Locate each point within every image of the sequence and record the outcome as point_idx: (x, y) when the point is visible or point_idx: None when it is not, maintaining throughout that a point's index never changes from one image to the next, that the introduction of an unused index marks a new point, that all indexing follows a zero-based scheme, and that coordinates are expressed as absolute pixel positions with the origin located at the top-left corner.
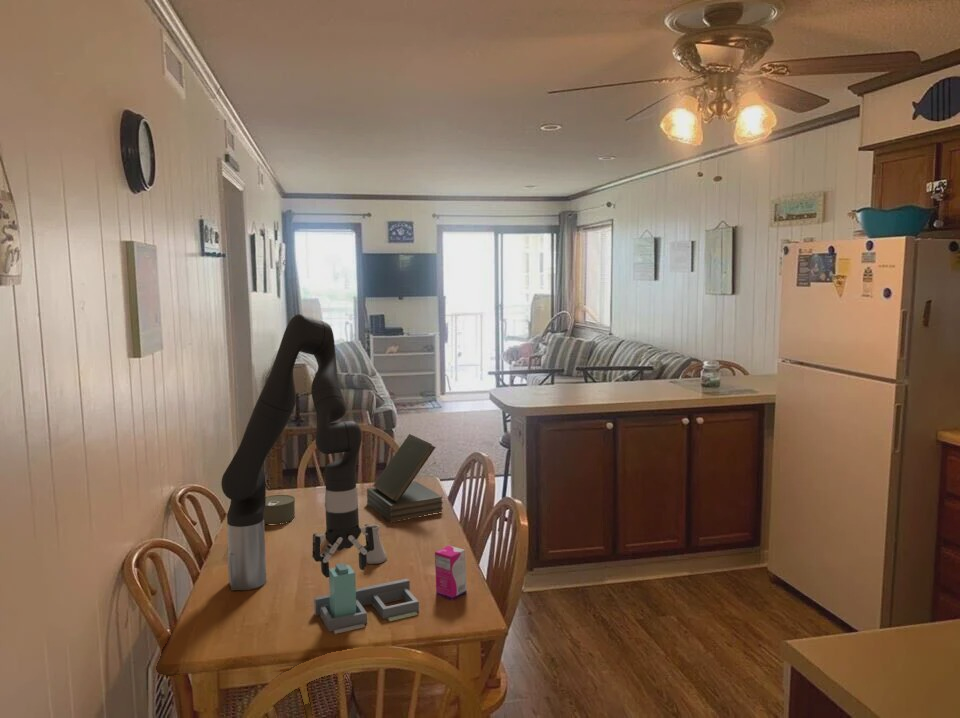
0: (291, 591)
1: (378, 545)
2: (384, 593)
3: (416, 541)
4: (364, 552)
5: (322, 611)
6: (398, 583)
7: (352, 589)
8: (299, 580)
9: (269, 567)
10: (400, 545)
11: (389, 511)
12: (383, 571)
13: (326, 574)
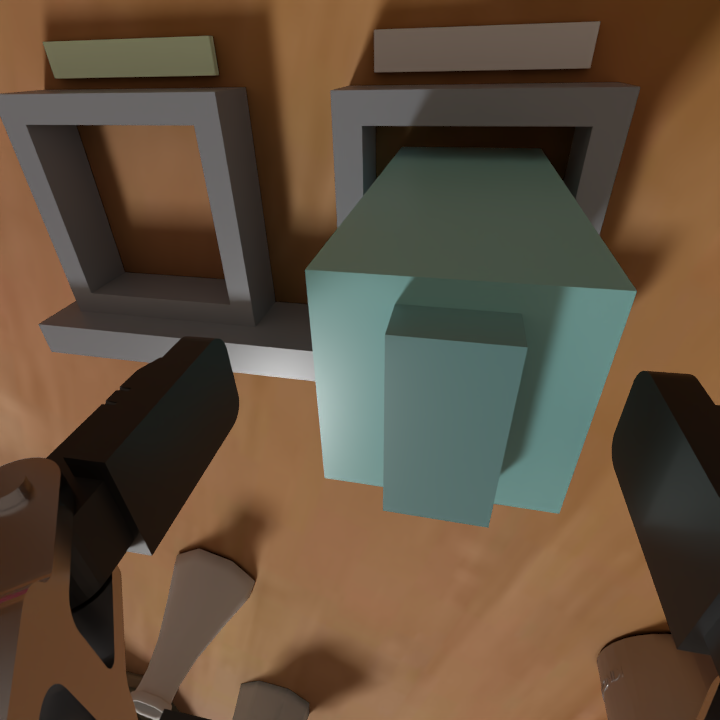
0: (560, 557)
1: (171, 618)
2: (189, 300)
3: None
4: (6, 488)
5: None
6: (97, 328)
7: (388, 204)
8: (492, 597)
9: (542, 691)
10: (132, 594)
11: (139, 714)
12: (194, 505)
13: (707, 395)
